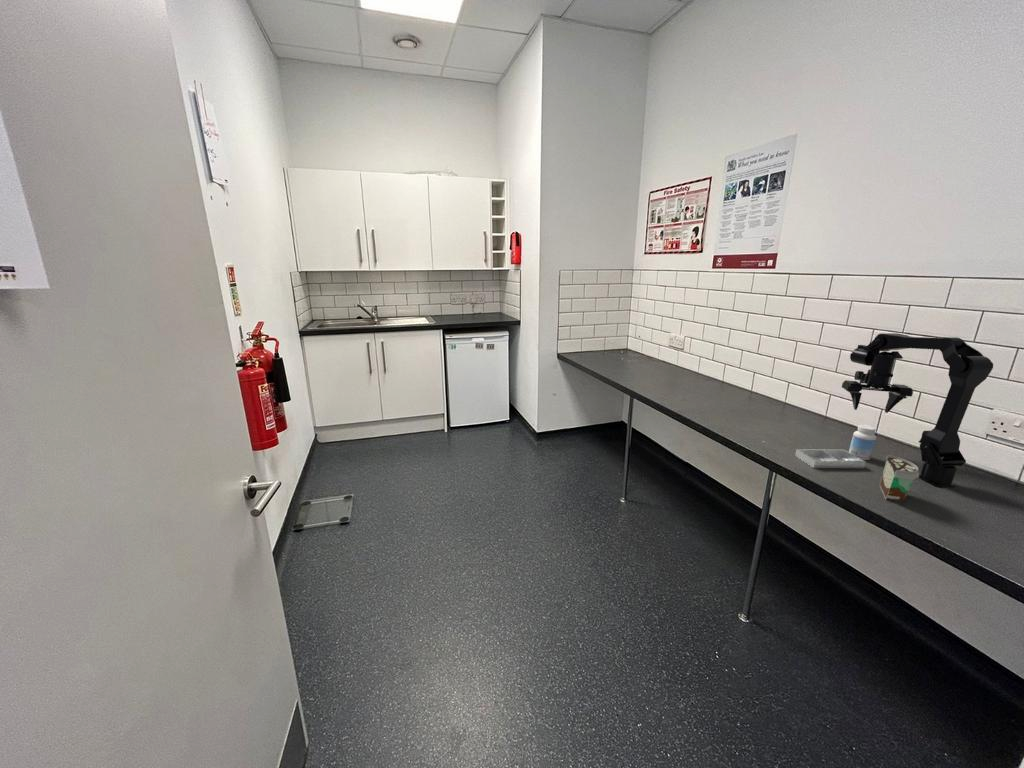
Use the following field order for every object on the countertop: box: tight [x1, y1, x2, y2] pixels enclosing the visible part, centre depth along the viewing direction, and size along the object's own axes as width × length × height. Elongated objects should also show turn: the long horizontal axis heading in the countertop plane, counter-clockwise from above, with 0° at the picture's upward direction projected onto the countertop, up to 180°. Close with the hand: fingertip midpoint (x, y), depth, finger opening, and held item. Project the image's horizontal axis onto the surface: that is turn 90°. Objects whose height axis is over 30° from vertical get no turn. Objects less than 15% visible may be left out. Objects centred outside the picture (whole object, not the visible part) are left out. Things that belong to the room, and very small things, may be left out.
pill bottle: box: [848, 424, 877, 461], centre depth 144 cm, size 6×6×11 cm
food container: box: [879, 454, 920, 502], centre depth 120 cm, size 12×6×10 cm, turn 148°
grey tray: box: [794, 448, 867, 469], centre depth 141 cm, size 9×17×2 cm, turn 91°
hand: (870, 411), depth 150 cm, fingers open, 9 cm apart
